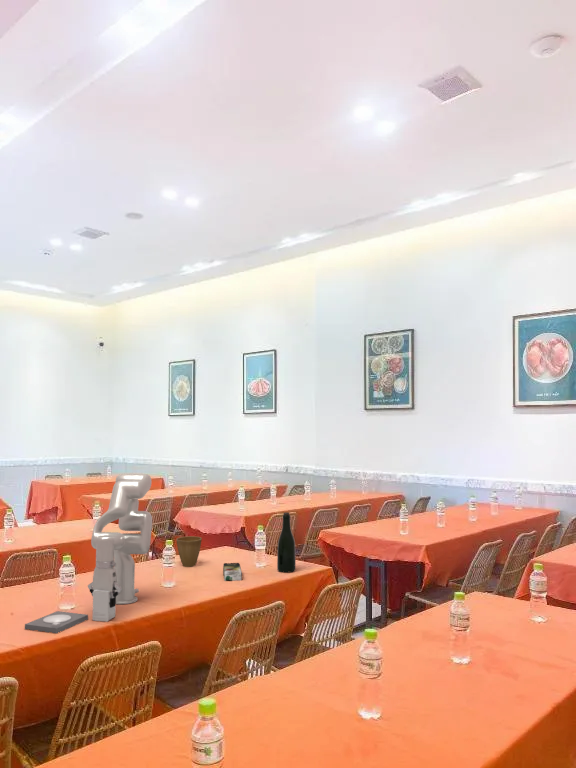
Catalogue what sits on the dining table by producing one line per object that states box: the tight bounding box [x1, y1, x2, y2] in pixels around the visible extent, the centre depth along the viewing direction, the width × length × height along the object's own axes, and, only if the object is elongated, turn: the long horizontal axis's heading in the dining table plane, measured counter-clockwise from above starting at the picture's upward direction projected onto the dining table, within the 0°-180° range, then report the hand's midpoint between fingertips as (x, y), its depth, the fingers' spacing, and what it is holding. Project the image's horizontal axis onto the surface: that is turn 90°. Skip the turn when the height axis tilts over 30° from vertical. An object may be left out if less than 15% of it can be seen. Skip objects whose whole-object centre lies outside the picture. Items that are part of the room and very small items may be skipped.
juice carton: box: [222, 562, 243, 582], centre depth 358 cm, size 20×10×6 cm, turn 8°
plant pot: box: [176, 535, 202, 568], centre depth 386 cm, size 15×15×16 cm
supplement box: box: [92, 589, 116, 622], centre depth 281 cm, size 7×7×13 cm
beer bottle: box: [276, 512, 297, 573], centre depth 374 cm, size 10×10×33 cm
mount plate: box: [24, 610, 89, 634], centre depth 273 cm, size 20×16×3 cm
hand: (104, 605), depth 281 cm, fingers closed on supplement box, 8 cm apart
